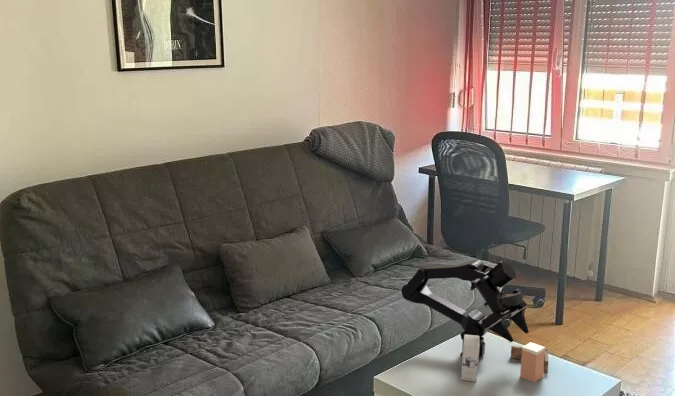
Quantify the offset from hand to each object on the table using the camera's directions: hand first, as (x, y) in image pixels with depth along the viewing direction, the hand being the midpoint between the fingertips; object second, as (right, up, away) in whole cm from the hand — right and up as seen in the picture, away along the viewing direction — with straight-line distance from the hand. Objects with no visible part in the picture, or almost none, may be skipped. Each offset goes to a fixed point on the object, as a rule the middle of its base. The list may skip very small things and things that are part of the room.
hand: (520, 337), depth 209 cm
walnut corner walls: (+5, -10, +7) cm, 13 cm away
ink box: (-16, -12, 0) cm, 20 cm away
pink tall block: (+3, -12, -1) cm, 13 cm away
